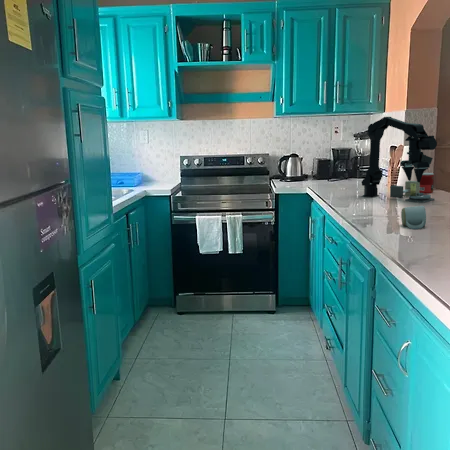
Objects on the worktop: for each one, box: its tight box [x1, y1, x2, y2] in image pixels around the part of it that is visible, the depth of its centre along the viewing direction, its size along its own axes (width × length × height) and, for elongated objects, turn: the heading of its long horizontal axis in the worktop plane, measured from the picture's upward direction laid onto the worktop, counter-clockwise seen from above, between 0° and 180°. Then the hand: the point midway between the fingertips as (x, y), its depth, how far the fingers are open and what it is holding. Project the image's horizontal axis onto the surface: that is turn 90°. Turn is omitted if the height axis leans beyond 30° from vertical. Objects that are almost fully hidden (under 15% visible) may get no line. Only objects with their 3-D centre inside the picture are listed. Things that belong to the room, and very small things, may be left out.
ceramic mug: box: [400, 205, 427, 230], centre depth 174 cm, size 11×8×8 cm
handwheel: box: [408, 183, 432, 200], centre depth 233 cm, size 10×10×8 cm
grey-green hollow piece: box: [403, 180, 420, 198], centre depth 249 cm, size 7×6×8 cm
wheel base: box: [404, 197, 435, 204], centre depth 234 cm, size 10×10×1 cm
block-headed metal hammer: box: [389, 185, 410, 199], centre depth 246 cm, size 6×18×6 cm, turn 125°
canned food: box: [419, 172, 435, 195], centre depth 260 cm, size 8×8×11 cm
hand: (414, 181), depth 231 cm, fingers open, 9 cm apart
